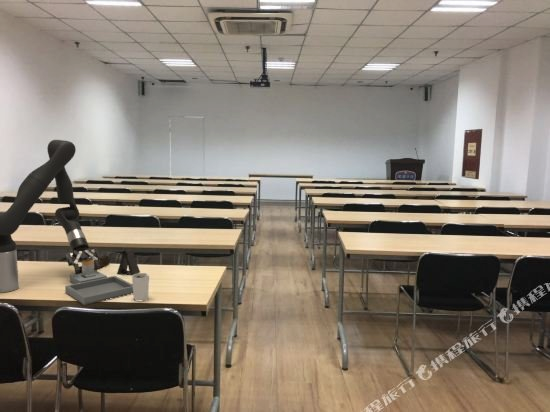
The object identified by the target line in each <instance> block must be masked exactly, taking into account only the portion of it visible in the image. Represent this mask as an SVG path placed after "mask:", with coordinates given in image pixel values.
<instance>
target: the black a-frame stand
mask: <svg viewBox="0 0 550 412" xmlns="http://www.w3.org/2000/svg"><path fill="white" fill-rule="evenodd" d="M138 273H141V271H140V268H139V265H138V262H137V260H136V256H135V249H133V248H128V249H125V250H123V251H122V252H121V260H120V262H119V266H118V269H117V272H116V275H121V276H130V277H132V275H134V274H138Z"/></svg>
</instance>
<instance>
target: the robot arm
mask: <svg viewBox="0 0 550 412" xmlns="http://www.w3.org/2000/svg"><path fill="white" fill-rule="evenodd" d="M76 151H77V149H76V145H75V144H74V143H73V142H72V141H69V140H63V139H53V140H51V141H49V142H48V145H47V154H48V158H49V159H48V160H47V161H46V162H45V163H44V164H42V165H39V166H38V167H37V168H35V169H33V170H32V171H31V172H30V173H28V175H27V176H26V177H25V178H24V180H23V181H22V182H21V183H20V185H19V186H18V188H17V189H18V190H17V192H16V197H15V199H14V201H13V203H12V204H11V206H10V207H9V208H8V209H7V210H6V211H5V212H0V293H9V292H13V291H16V290H18V289H19V288H20V287H19V284H20V283H19V269H18V256H17V255H18V253H17V251H18V250H17V243H16V242H15V240H13V238H12V235H13V234H14V233H16V231H18V228H20V226H21V224H22V223H23V221H24V219H25V218H26V216H27V214H28V213H29V211H30V210H31V209H32V208H33V206H34V205H35V204H36V202H37V201H38V200H39V198H40V197H41V196H42V195H43V193H45V191H46V190H47V189H48V187H49V186H50V185H51V183H52V182H53V181H54V180H55V186H56V194H57V195H56V196H57V201H58V203H61V204H67V205H69V206H65V207H59V208H57V209H56V210H55V211H54V216H55V219H56V221H57V222H58V223H59V224H60V225H61V227H62V228H63V230H64V232H65V234H66V237H67V241H68V242H67V243H68V245H69V248H70V250H71V252H70V251H67V253H66V255H65V258H66V261H67V265H68V266H69V267H70V266H72V267H73V269H74V272H75V271H76V272H77V273H79V272H80V268H79V267H80V266H79V264H78V263H79V261H80V262H82V261H84V260H90V259H91V260H93V261H94V265H95V268H96V269H95V270H99V266H100V265H99V262H98V261H100V258H101V257H102V256H101V254H100V252H99V250H98V248H97V247H95V248H93V249H91V248H90V246H89V243H88V241H87V239H86V236H85V233H84V231H83V229H82V226H81V224H80V223H79V221H77V220H78V219H79V217H80V210H79V208H78V206H77V204H76V201H75V197H74V186H73V183H72V181H71V178H70V176H69V174H68V172H67V170H66V169H67V168H66V165H68V163H69V162H70V161H71V160H72V159H73V158H74V157H75V154H76ZM72 257H74V258H75V260H74V261H73V258H72Z"/></svg>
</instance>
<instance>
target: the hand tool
mask: <svg viewBox="0 0 550 412" xmlns="http://www.w3.org/2000/svg"><path fill="white" fill-rule="evenodd" d="M98 262H99V265H100V266H99V268H101V269H102V268H106V267H107V266H108V265H110V264H111V263H110V257H109V255H108V254H107V255H103V256H101V258H100V261H98ZM79 268H80V272H79V273H77V272H76V271H75V270H74V273H75V274H80V273H82V265H81V266H79ZM99 268H98V269H99ZM96 270H97V269H96V268H95V265H94V271H96Z"/></svg>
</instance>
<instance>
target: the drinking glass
mask: <svg viewBox="0 0 550 412" xmlns="http://www.w3.org/2000/svg"><path fill="white" fill-rule="evenodd" d="M149 278H150V274H149V273H147V272H139V273H137V274H134V275H132V276H131V282H132V284H133V294H132V295H133V300H134V299H135V300H145V301H147V300H148V299H149V291H150V290H149V287H150V286H149V284H150V283H149V282H150V279H149ZM146 299H147V300H146ZM135 300H134V301H135Z"/></svg>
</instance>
